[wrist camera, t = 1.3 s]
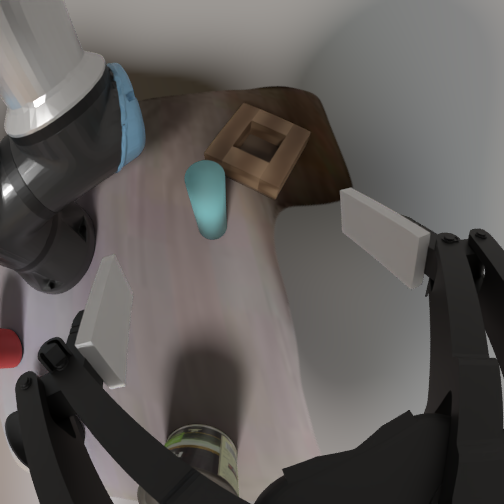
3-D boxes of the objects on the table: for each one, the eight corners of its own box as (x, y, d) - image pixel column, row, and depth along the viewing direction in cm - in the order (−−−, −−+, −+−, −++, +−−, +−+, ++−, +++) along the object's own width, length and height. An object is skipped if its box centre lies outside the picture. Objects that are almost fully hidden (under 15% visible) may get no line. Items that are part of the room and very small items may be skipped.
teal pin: (193, 231, 40) (176, 184, 27) (207, 208, 42) (198, 154, 28) (217, 244, 40) (211, 201, 27) (231, 221, 41) (232, 169, 28)
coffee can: (150, 452, 31) (118, 498, 18) (195, 409, 34) (177, 449, 20) (206, 493, 30) (198, 549, 17) (252, 453, 33) (263, 505, 19)
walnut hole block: (205, 167, 43) (204, 152, 40) (242, 117, 47) (243, 102, 43) (275, 200, 43) (279, 188, 39) (305, 146, 46) (311, 131, 42)
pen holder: (46, 389, 32) (8, 397, 23) (93, 421, 32) (60, 440, 22) (38, 431, 30) (3, 446, 20) (82, 463, 29) (52, 486, 20)
